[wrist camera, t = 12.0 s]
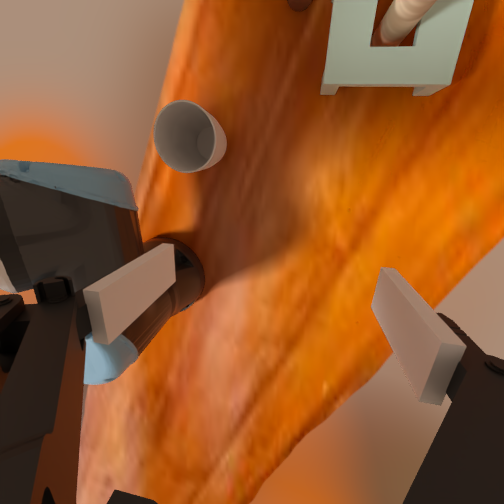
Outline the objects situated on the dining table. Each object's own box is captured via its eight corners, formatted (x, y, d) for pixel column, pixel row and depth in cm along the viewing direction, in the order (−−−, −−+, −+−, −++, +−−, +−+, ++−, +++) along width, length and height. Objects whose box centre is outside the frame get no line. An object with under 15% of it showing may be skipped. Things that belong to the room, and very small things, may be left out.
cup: (232, 112, 37) (210, 95, 28) (238, 168, 40) (220, 169, 31) (183, 119, 39) (147, 105, 30) (191, 172, 41) (161, 175, 32)
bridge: (320, 94, 34) (323, 83, 30) (334, -18, 30) (340, -51, 26) (428, 95, 32) (450, 84, 28) (459, -25, 28) (491, -62, 24)
